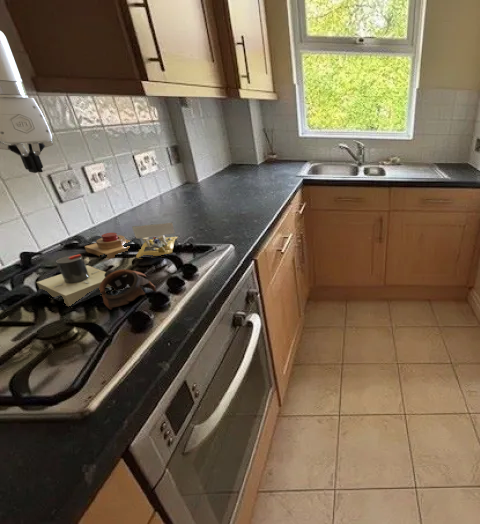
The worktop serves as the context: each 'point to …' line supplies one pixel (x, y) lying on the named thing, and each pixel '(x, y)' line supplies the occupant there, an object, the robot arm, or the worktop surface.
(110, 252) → the button block
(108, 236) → the button
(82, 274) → the dial
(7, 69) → the robot arm
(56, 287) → the panel
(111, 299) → the pottery mug
